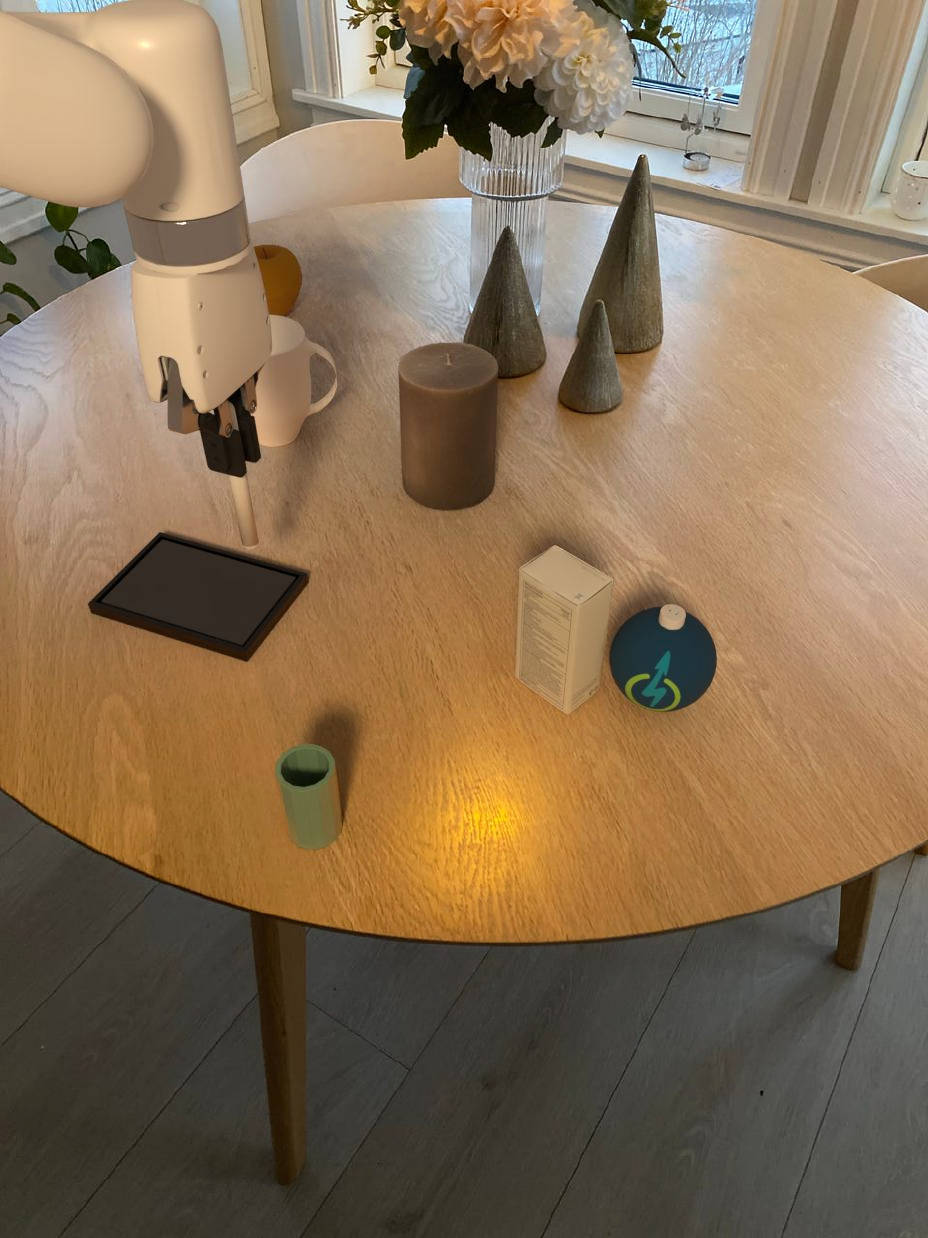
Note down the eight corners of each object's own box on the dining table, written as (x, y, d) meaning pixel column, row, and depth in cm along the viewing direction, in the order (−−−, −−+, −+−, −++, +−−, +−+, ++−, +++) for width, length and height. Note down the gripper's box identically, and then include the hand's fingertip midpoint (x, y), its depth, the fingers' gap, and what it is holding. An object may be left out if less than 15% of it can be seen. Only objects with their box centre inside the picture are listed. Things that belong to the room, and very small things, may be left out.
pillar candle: (485, 517, 96) (490, 383, 86) (391, 504, 98) (384, 371, 87) (501, 463, 103) (508, 333, 93) (413, 451, 105) (410, 323, 94)
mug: (234, 459, 103) (216, 357, 95) (236, 415, 109) (219, 316, 101) (343, 451, 104) (335, 350, 96) (339, 408, 111) (330, 310, 102)
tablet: (90, 613, 85) (87, 603, 85) (162, 541, 93) (159, 531, 92) (247, 662, 81) (245, 652, 80) (308, 582, 89) (307, 573, 88)
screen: (101, 603, 85) (100, 600, 85) (162, 541, 92) (162, 539, 91) (242, 646, 82) (242, 644, 81) (296, 579, 88) (295, 577, 88)
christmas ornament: (583, 696, 79) (596, 607, 72) (641, 643, 84) (658, 555, 77) (669, 750, 75) (692, 662, 68) (725, 691, 80) (751, 603, 73)
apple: (291, 293, 132) (283, 229, 126) (316, 318, 127) (310, 252, 121) (232, 307, 129) (221, 241, 123) (255, 333, 124) (245, 266, 118)
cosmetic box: (601, 690, 80) (619, 580, 71) (565, 718, 77) (580, 608, 69) (545, 651, 83) (556, 541, 74) (509, 677, 81) (516, 567, 72)
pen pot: (276, 840, 69) (263, 780, 64) (303, 796, 71) (293, 736, 67) (326, 858, 68) (317, 799, 63) (351, 813, 70) (345, 753, 66)
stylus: (239, 551, 80) (210, 404, 70) (248, 541, 81) (220, 395, 71) (254, 555, 80) (226, 408, 70) (263, 545, 81) (236, 399, 71)
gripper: (205, 179, 68) (244, 405, 81) (64, 266, 58) (135, 510, 70) (299, 194, 66) (324, 424, 79) (170, 287, 56) (223, 534, 68)
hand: (234, 463), depth 75 cm, fingers closed on stylus, 1 cm apart
